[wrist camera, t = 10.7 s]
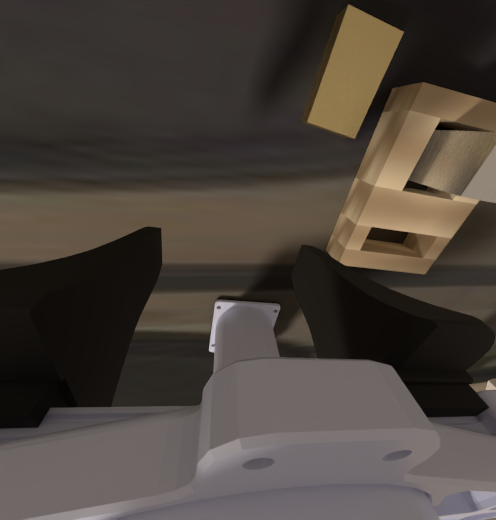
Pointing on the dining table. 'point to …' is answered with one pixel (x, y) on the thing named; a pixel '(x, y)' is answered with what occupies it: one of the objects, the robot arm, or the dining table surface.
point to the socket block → (395, 177)
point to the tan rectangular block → (350, 72)
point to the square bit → (459, 164)
